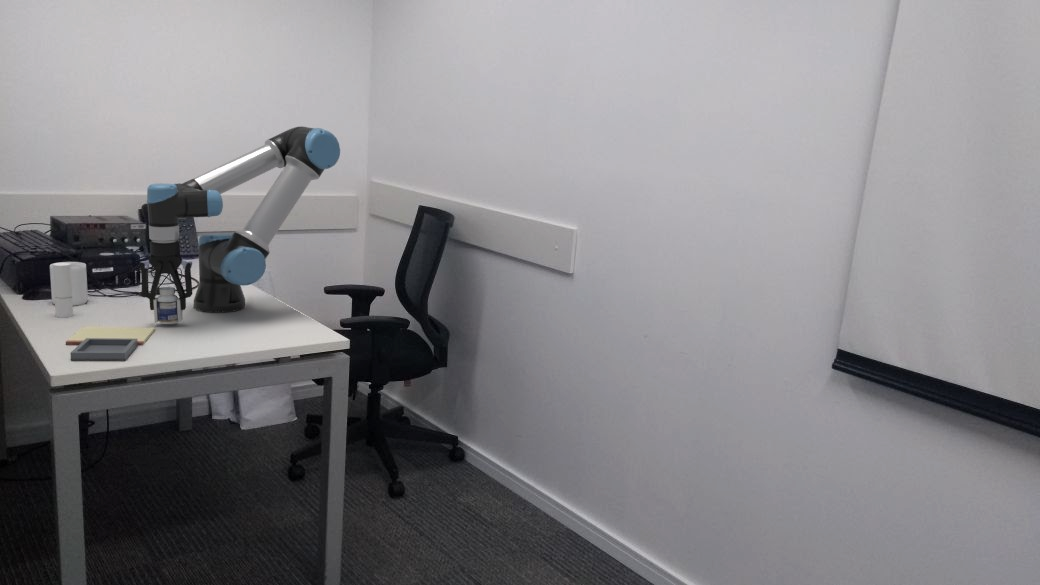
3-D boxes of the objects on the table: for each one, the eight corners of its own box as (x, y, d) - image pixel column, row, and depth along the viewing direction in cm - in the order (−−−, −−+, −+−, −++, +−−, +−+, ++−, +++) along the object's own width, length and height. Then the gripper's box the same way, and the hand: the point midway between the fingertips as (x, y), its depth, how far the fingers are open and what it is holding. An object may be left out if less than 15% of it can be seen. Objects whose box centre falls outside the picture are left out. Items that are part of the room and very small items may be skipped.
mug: (46, 306, 229) (44, 267, 227) (62, 296, 241) (60, 259, 238) (81, 307, 231) (79, 268, 229) (95, 297, 243) (93, 260, 240)
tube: (65, 318, 219) (62, 266, 216) (52, 316, 220) (49, 264, 216) (76, 314, 223) (73, 263, 220) (63, 312, 224) (60, 262, 221)
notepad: (155, 330, 214) (154, 327, 214) (142, 345, 201) (142, 342, 201) (83, 329, 210) (83, 326, 210) (65, 344, 197) (65, 341, 197)
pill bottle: (162, 319, 222) (160, 286, 220) (182, 319, 223) (180, 286, 220) (155, 324, 217) (153, 290, 215) (175, 324, 217) (173, 291, 215)
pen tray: (137, 346, 200) (137, 338, 200) (125, 360, 189) (124, 353, 188) (86, 345, 198) (86, 338, 197) (70, 360, 186) (70, 352, 186)
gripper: (202, 238, 220) (205, 317, 225) (132, 237, 216) (137, 317, 221) (197, 243, 213) (201, 324, 218) (124, 242, 208) (130, 324, 214)
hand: (168, 320), depth 220 cm, fingers closed on pill bottle, 5 cm apart
